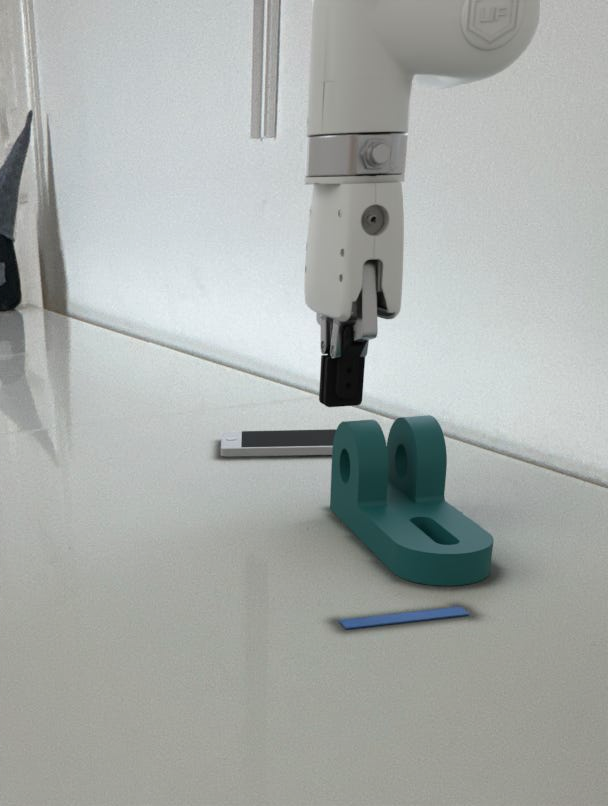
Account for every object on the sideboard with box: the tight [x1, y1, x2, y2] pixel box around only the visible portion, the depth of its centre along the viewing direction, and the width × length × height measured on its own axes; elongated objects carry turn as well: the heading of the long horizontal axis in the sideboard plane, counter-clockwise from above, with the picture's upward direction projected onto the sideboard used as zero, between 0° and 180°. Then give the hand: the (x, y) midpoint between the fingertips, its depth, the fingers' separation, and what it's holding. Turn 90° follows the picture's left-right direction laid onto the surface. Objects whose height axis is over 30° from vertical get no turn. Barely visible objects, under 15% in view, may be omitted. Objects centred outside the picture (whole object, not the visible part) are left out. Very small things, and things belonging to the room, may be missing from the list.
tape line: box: [338, 605, 470, 630], centre depth 62 cm, size 8×1×1 cm, turn 99°
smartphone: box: [220, 428, 337, 457], centre depth 100 cm, size 7×16×1 cm, turn 84°
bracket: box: [329, 414, 495, 587], centre depth 73 cm, size 18×7×8 cm, turn 6°
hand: (340, 403), depth 84 cm, fingers closed
